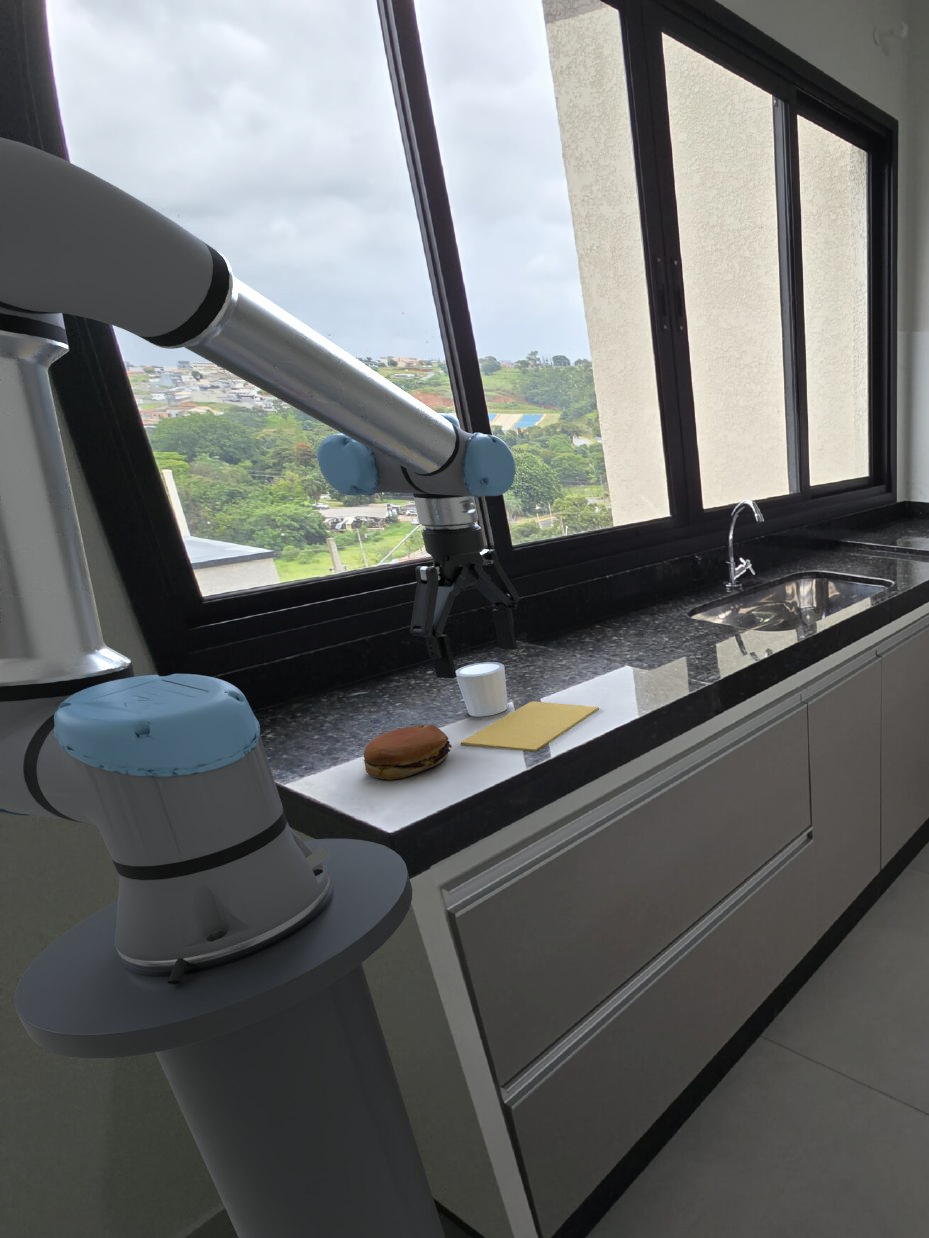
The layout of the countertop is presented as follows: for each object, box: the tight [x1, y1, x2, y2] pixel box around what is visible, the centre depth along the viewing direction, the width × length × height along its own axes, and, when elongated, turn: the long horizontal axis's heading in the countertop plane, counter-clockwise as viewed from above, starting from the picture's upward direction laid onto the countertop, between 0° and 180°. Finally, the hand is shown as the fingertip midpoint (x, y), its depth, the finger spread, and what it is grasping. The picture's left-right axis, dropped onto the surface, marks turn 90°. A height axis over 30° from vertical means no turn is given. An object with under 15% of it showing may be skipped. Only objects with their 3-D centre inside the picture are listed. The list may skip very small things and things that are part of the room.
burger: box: [363, 724, 453, 781], centre depth 100 cm, size 10×9×5 cm
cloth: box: [459, 700, 600, 752], centre depth 113 cm, size 16×12×1 cm
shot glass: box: [455, 661, 509, 717], centre depth 118 cm, size 7×7×7 cm
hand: (479, 662), depth 116 cm, fingers open, 13 cm apart
